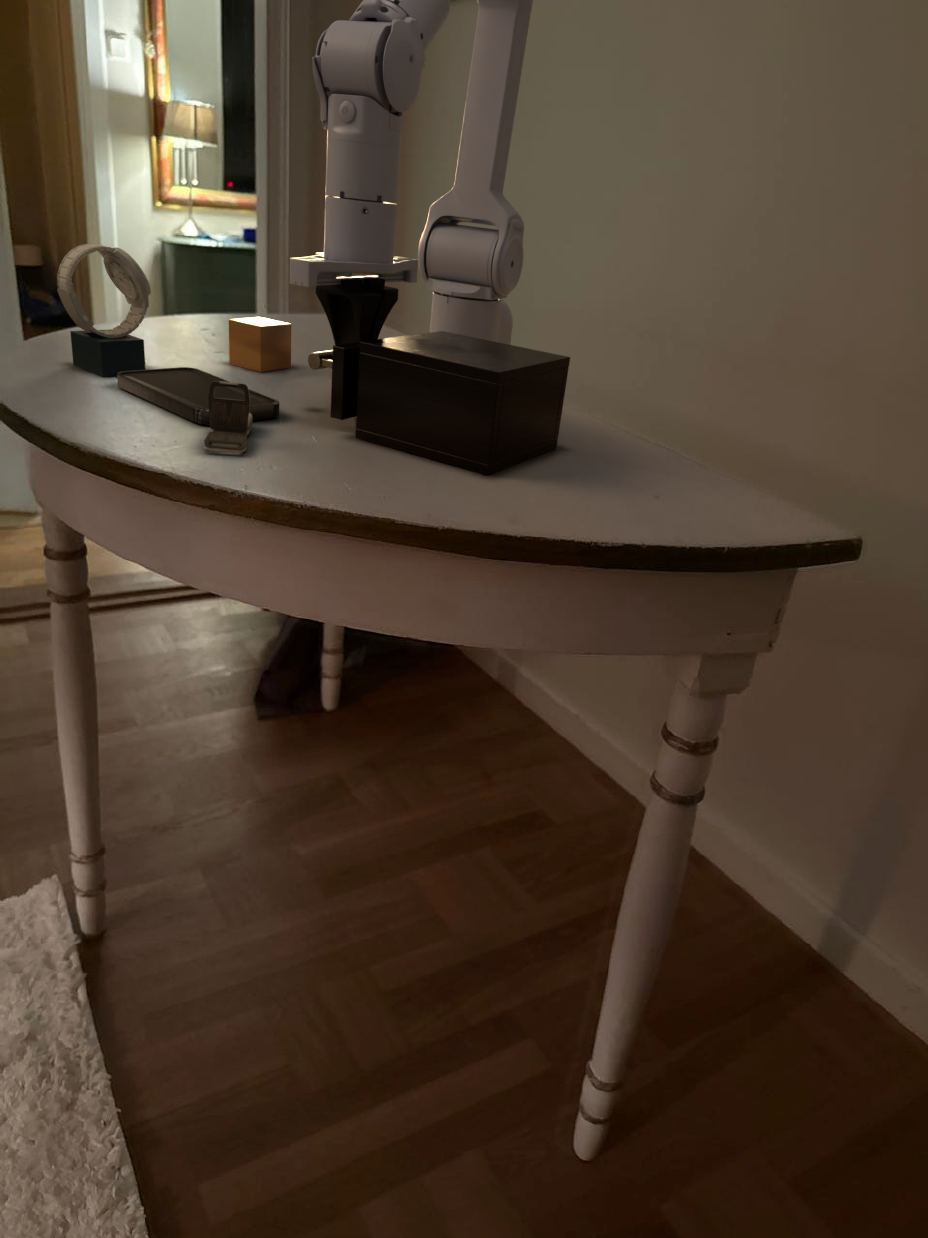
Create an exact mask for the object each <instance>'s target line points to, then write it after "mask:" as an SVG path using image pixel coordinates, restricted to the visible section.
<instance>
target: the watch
mask: <svg viewBox="0 0 928 1238" xmlns="http://www.w3.org/2000/svg"><path fill="white" fill-rule="evenodd" d="M95 252H98V253H99V254H100V256H101V258H102V259H103V261H102V263H103V265H104V268H105V271H106V273H107V275H108V278H109V279H110V280H111V282H112V283H113V285H114V286H115V288H117V289H118V290H119V292H120V293H122V294H123V295H124V298H125V300H126V303H127V304H128V305H130V307H129V310H128V312H127V314H126V316H125V318H124V319H123V320H122V321H121V322H120V324H118V325H116V326H115V327H113V328H112V329H111V328H110V329H97V328H95V327H94V325H95V324H94V322H93V321H92V320H91V318H90V317H89V316H88V314H87V312H86V311H85V309H84V307H83V305H82V302H81V300H80V298H79V295H78V293H76V291H75V285H74V283H73V278H72V277H73V275H74V272H75V268H76V267H77V266H78V265H79V263H80V262H81V260H83V259H84V258H86V257H87V256H88V255H91V254H93V253H95ZM56 281H57V289H56V291H57V293H58V296H59V299H60V301H61V303H62V305H63V307H64V309H65V311H66V313H67V314H68V316H69V317H70V318H71V320H72V321H73V322H74V324H75V325H76V326H77V328H79V329H81V330H70V342H71V343H70V344H71V354H72V364H73V365H72V366H75V367H78V368H80V369H83V370H85V371H88V372H89V373H93V374H95V375H98V376H100V377H103V378H107V377H117V373H118V372H121V371H133V370H146V355H145V354H146V353H145V339H143V338H140V337H137V336H134V335H131V334H132V333H133V332H135V330H137V329H138V328H139V326H140V325H141V324H142V323H143V321H144V319H145V316H146V314H147V312H148V308H149V307H150V299H149V296H151V293H152V288H151V284H150V281H149V279H148V278H147V275H146V274H145V272H144V270H143V269H142V268H141V266H140V265H139V264H138V263H137V261H136V260H135V259H134V258H133V256H131V255H130V254H129V253H128V252H127V251H125V250H123V248H121V247H118V246H117V247H111V246H106V245H103V244H98V243H83V244H80V245H77V246H75V247H74V248H72V249H71V250H69V251H68V252H67V254H65V255H64V257H63V258H62V260H61V263H60V264H59V267H58V270H57V275H56Z"/></svg>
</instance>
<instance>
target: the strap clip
mask: <svg viewBox="0 0 928 1238" xmlns="http://www.w3.org/2000/svg"><path fill="white" fill-rule="evenodd" d="M215 386H225V387H236V388H243V389H244V393H245V400H234V399H222V398H214V391H215ZM208 401H209V419H210V425H209V428H210V429H211V431H209V432H208V434H207V436H206V438H205V439H204V440H203V445H204V450H207V451H211V452H223V453H224V452H225V453H236V454H241V453H244V452H245V451H247V449H248V447H247V445H248V436H249V434H250V432H251V430H252V427H253V420H252V414H251V413H249V408H250V396H249V387H248V385H247V384H245V383H240V382H235V381H234V382H233V381H229V382H224V381H214V382H212V383H211V385H210V390H209V397H208Z"/></svg>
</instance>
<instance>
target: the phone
mask: <svg viewBox="0 0 928 1238" xmlns="http://www.w3.org/2000/svg"><path fill="white" fill-rule="evenodd" d="M116 378H117V387H118V388H120V389H123V390H125V391H126V392H129V393H131V394H133V395H135V396H137V397H139V398H142V399H144V400H146V401H148V402H150V403H152V404H155V405H157V406H159V407H161V408H163V409H165V410H167V411H170V412H171V413H174V414H176V415H178V416H180V417H182V418H184V419H187V420H189V421H191V422H193V423H196V424H199V425H209V426H210V419H209V401H208V397H209V390H210V385H211V383H212V382H214V381H224V382H230V381H229V380H227V379H224V378H222V377H219V376H216V375H214V374H211V373H210V372H206V371H204V370H202V369H199V368H196V367H189V366H179V367H164V368H151V369H145V370H133V371H121V372H118V373H117V376H116ZM248 389H249V388H248ZM249 396H250V408H249V413H251V414H252V421H255V420H266V419H271V418H272V419H273V418H278V417H279V416H280V401H279V400H277V399H276V398H272V397H270V396H268V395H265V394H262V393H260V392H257V391H255V390H252V389H249ZM214 398H222V399H234V400H245V393H244V389H243V388H236V387H225V386H215V391H214Z"/></svg>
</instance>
